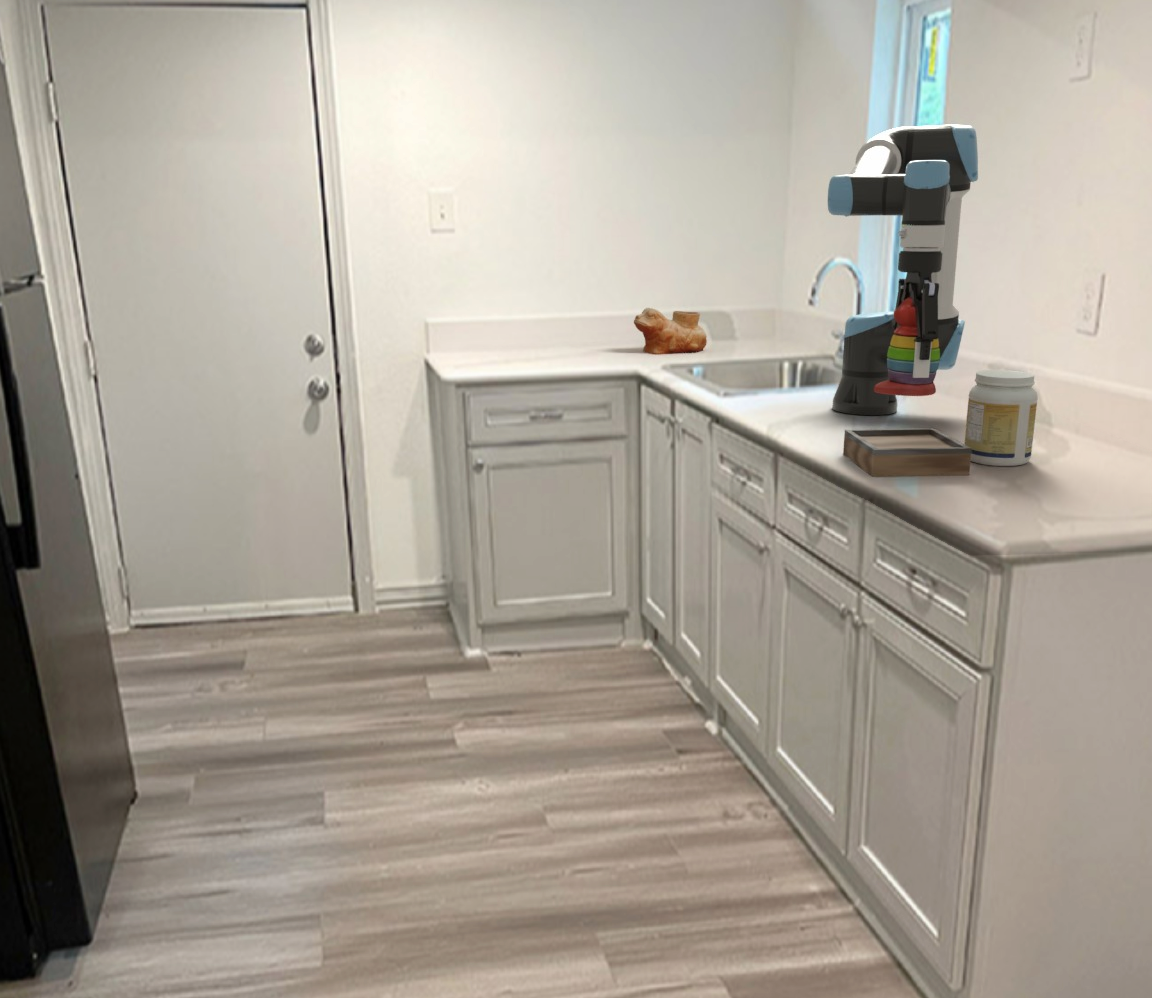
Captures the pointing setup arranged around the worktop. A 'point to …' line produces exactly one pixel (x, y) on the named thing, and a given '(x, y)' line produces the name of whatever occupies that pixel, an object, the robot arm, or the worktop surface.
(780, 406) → the worktop surface
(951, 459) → the square tray
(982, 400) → the supplement tub
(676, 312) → the ceramic vessel
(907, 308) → the stacking bear
